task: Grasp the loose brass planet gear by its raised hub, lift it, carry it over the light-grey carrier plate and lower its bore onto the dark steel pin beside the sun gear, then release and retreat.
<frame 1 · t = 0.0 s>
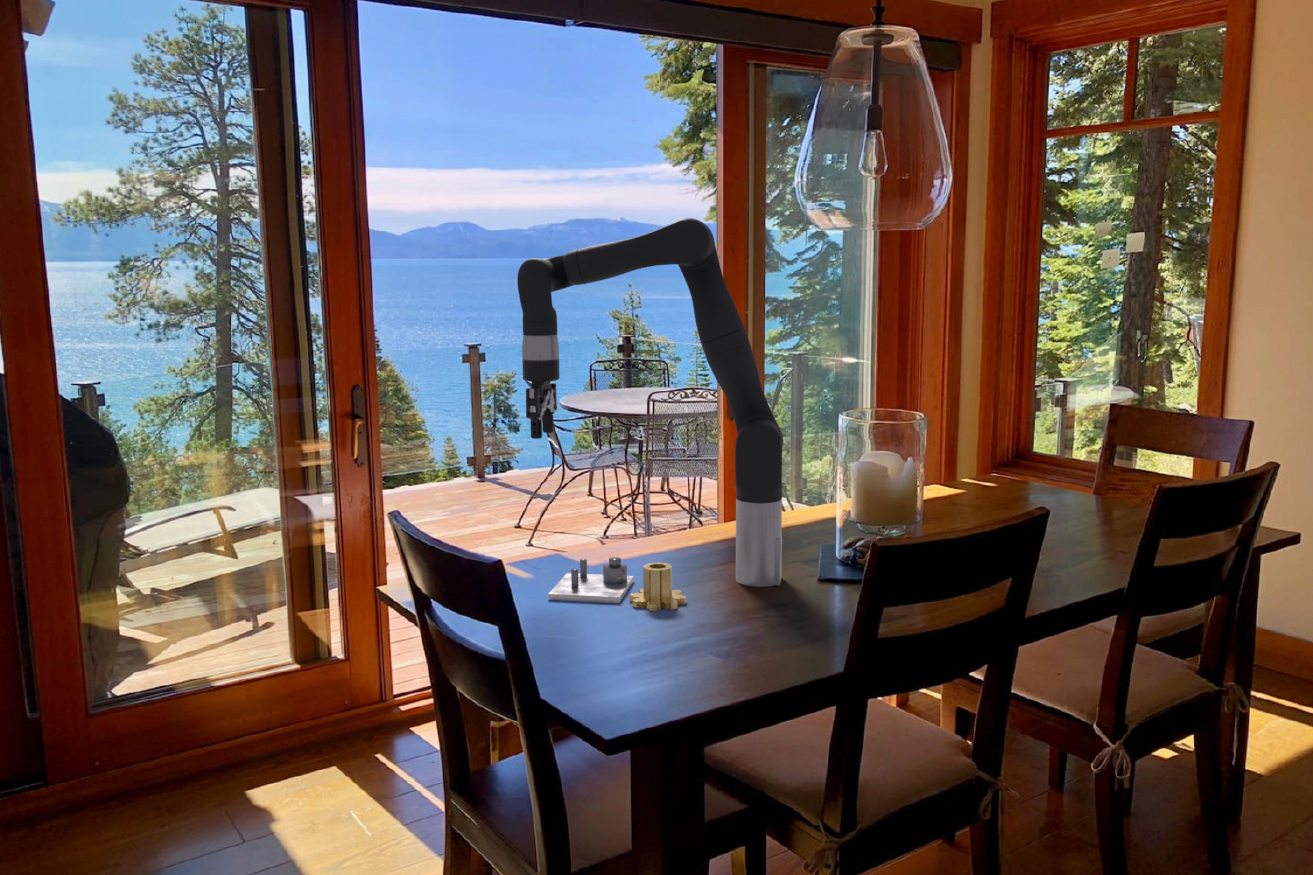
hand: (542, 435, 201), 29 cm above the table, fingers open, 8 cm apart
planet gear: (657, 601, 184), on the table
carrier: (592, 590, 192), on the table
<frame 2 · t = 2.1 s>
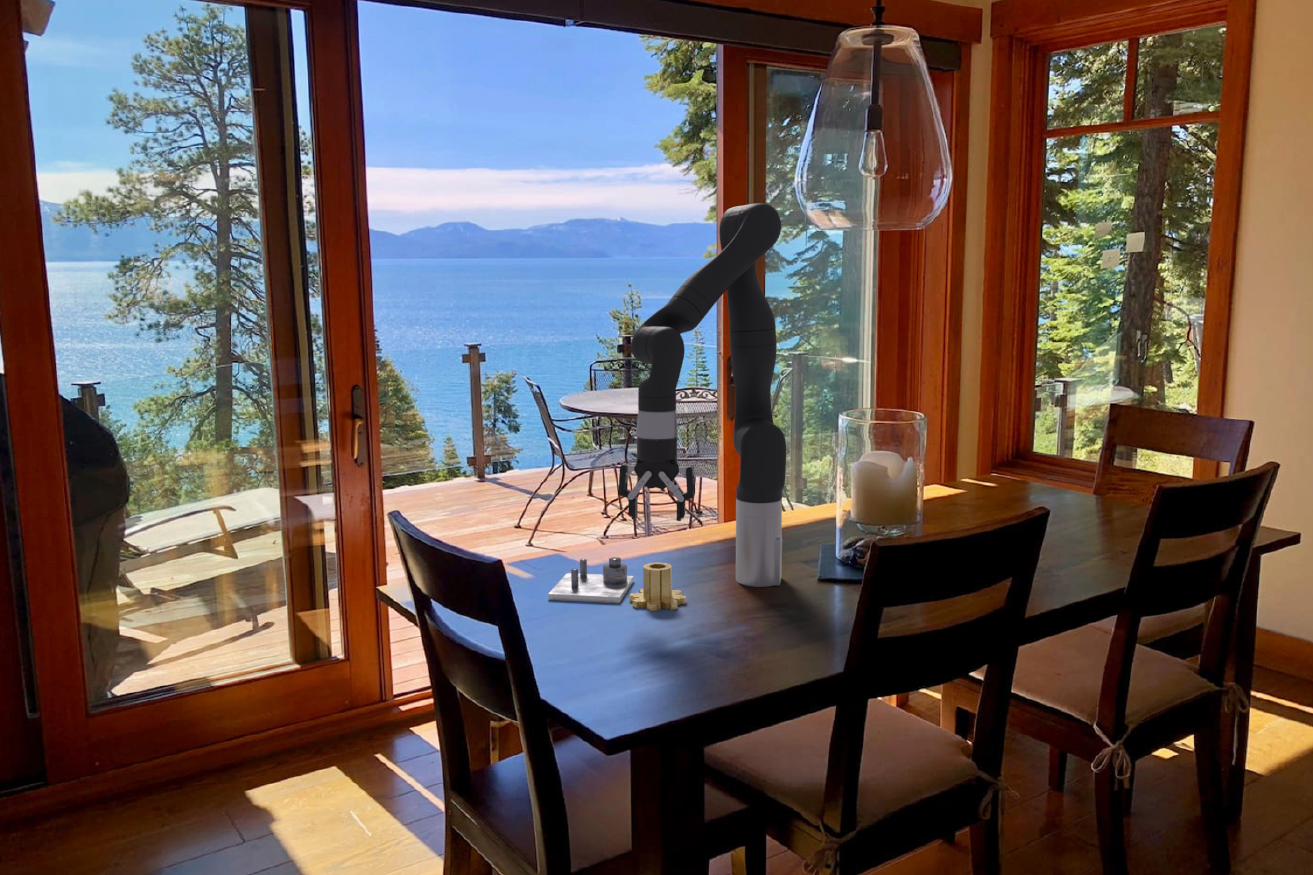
hand: (656, 519, 182), 16 cm above the table, fingers open, 8 cm apart
nothing on the table moved.
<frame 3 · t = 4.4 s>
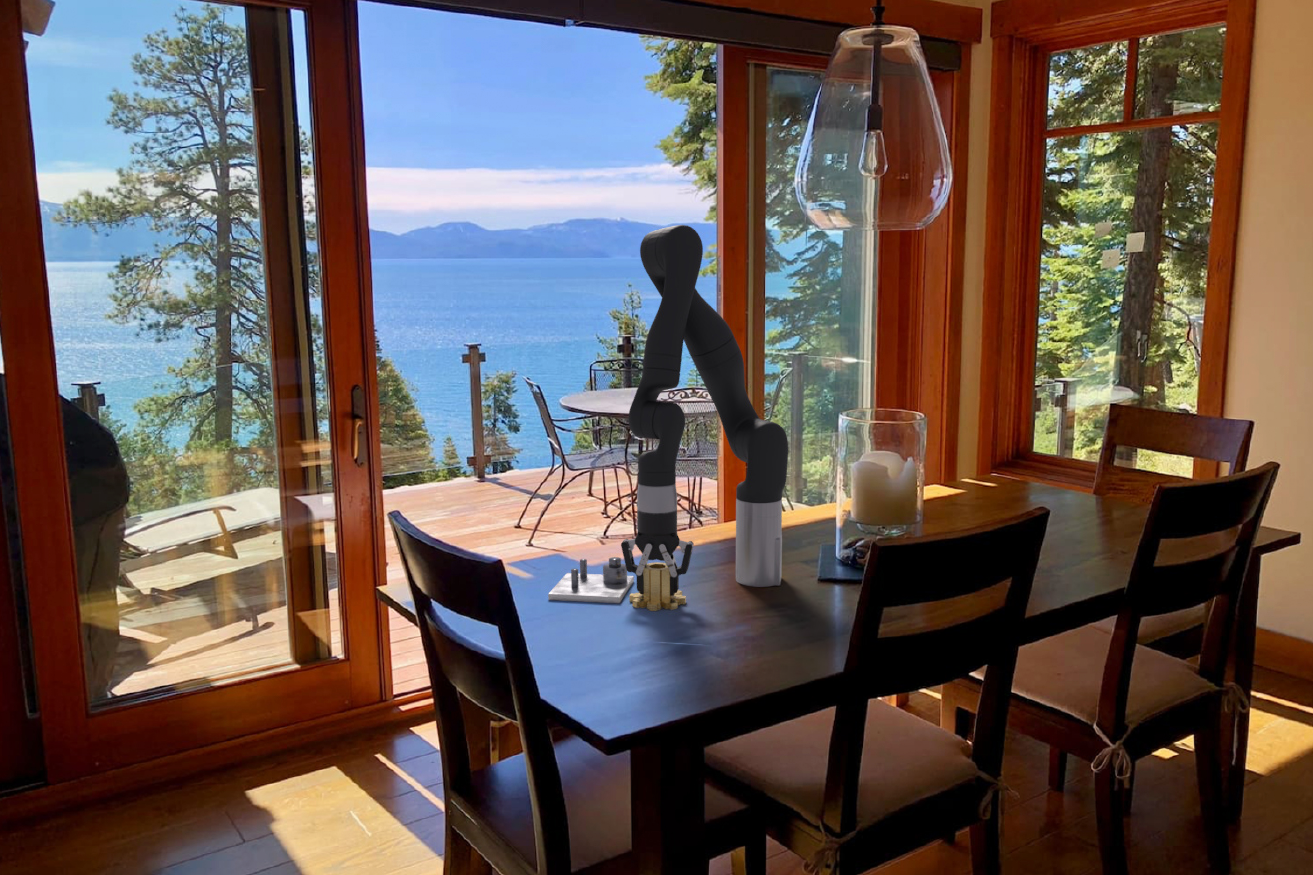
hand: (657, 593, 184), 2 cm above the table, fingers closed on planet gear, 5 cm apart
planet gear: (657, 601, 184), on the table, touching gripper
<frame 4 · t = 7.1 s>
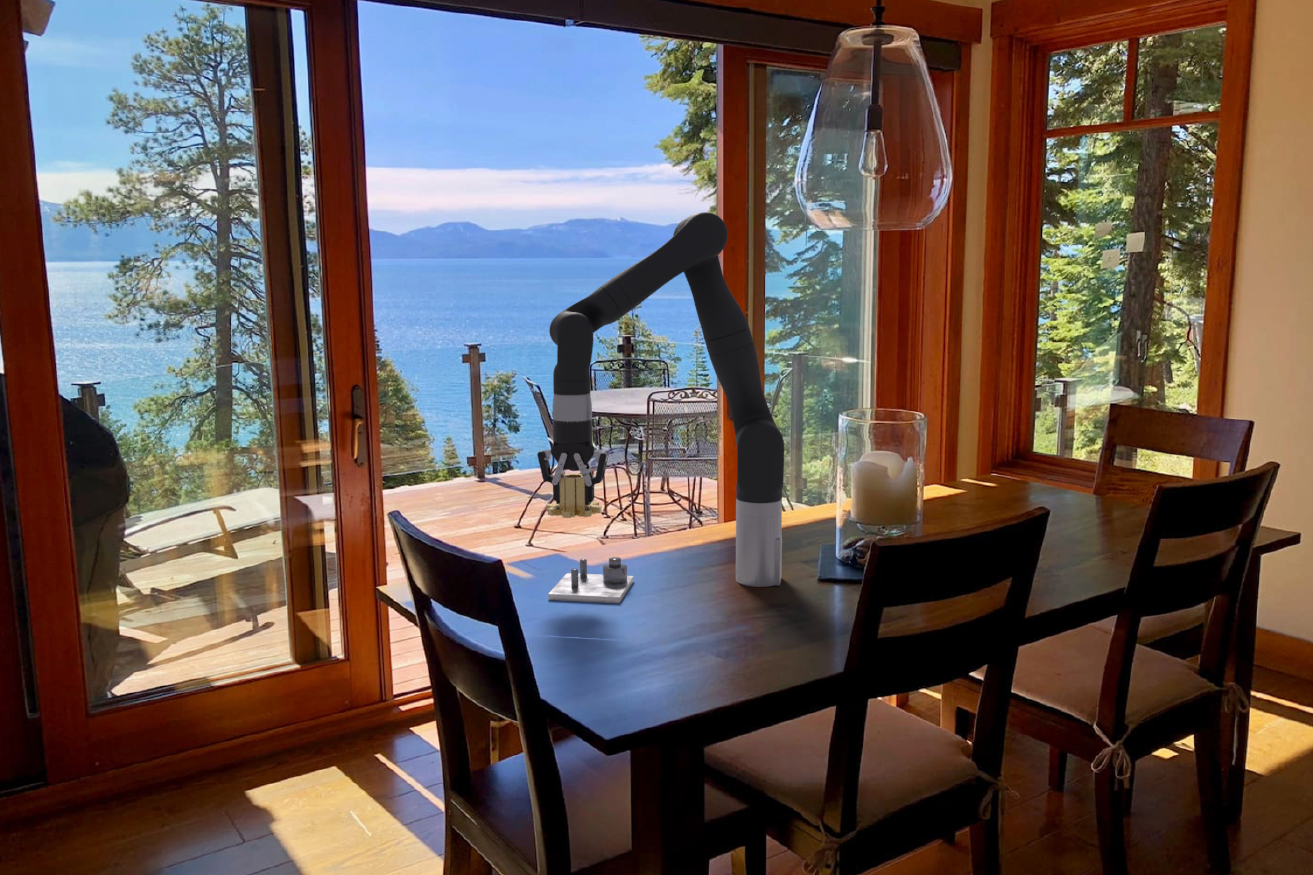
hand: (573, 503, 188), 18 cm above the table, fingers closed on planet gear, 5 cm apart
planet gear: (573, 511, 188), point 16 cm above the table, touching gripper
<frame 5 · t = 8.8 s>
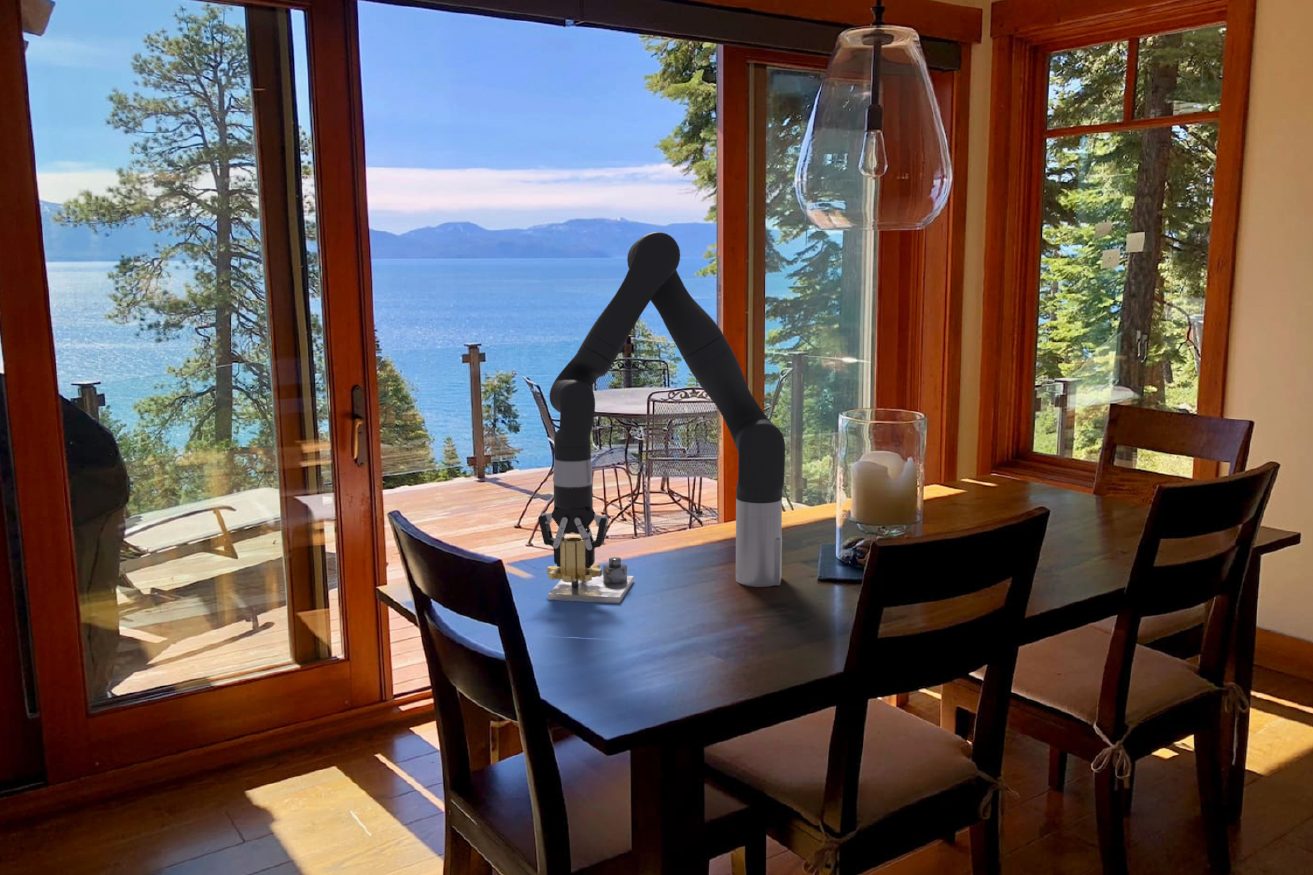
hand: (574, 566, 190), 5 cm above the table, fingers closed on planet gear, 5 cm apart
planet gear: (574, 574, 190), point 4 cm above the table, touching gripper
when the fingers open (4 cm above the table, at t = 10.0 s): planet gear stays where it is, resting on carrier.
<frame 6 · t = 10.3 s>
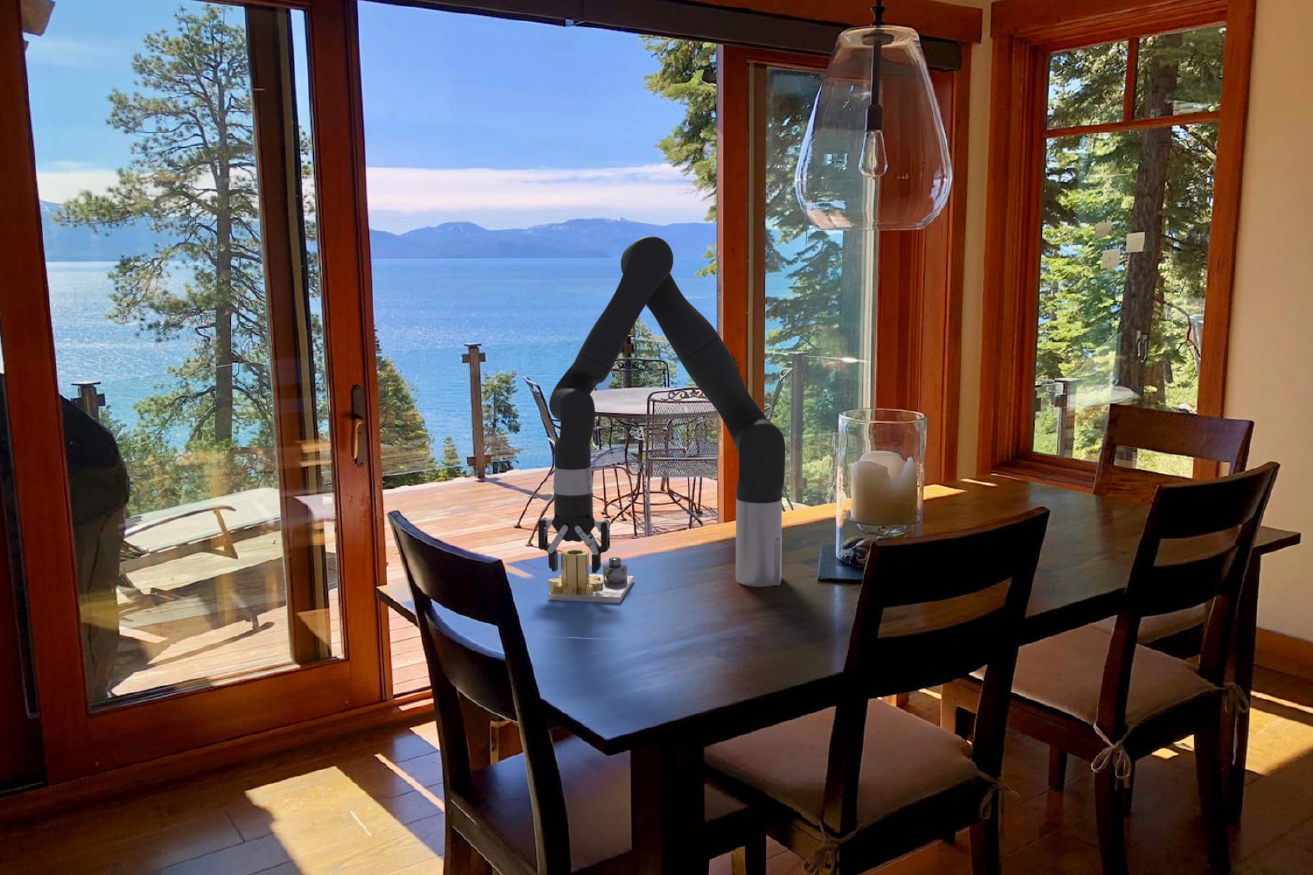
hand: (574, 571, 190), 4 cm above the table, fingers open, 7 cm apart
planet gear: (575, 586, 190), point 1 cm above the table, touching carrier
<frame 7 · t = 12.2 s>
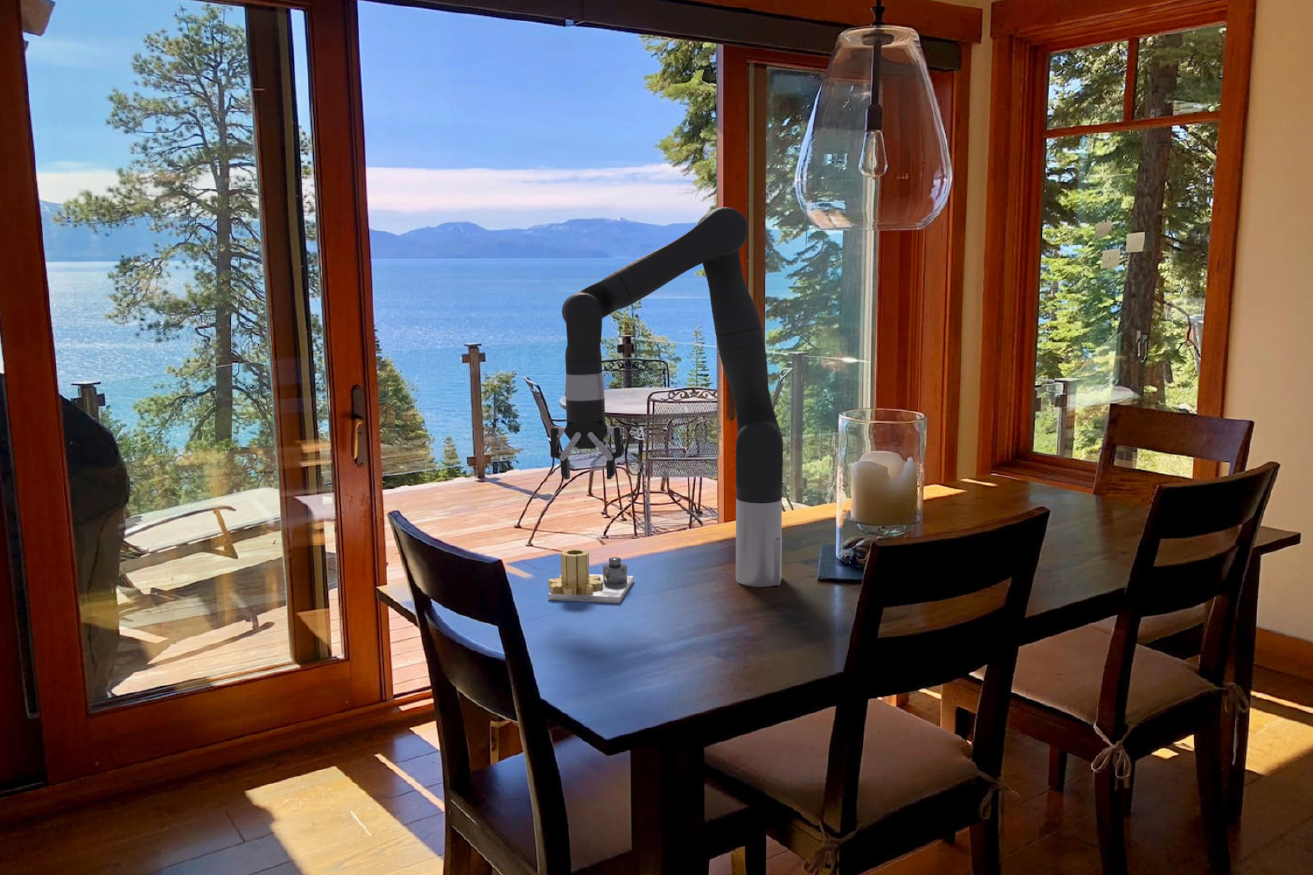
hand: (588, 478, 190), 22 cm above the table, fingers open, 8 cm apart
nothing on the table moved.
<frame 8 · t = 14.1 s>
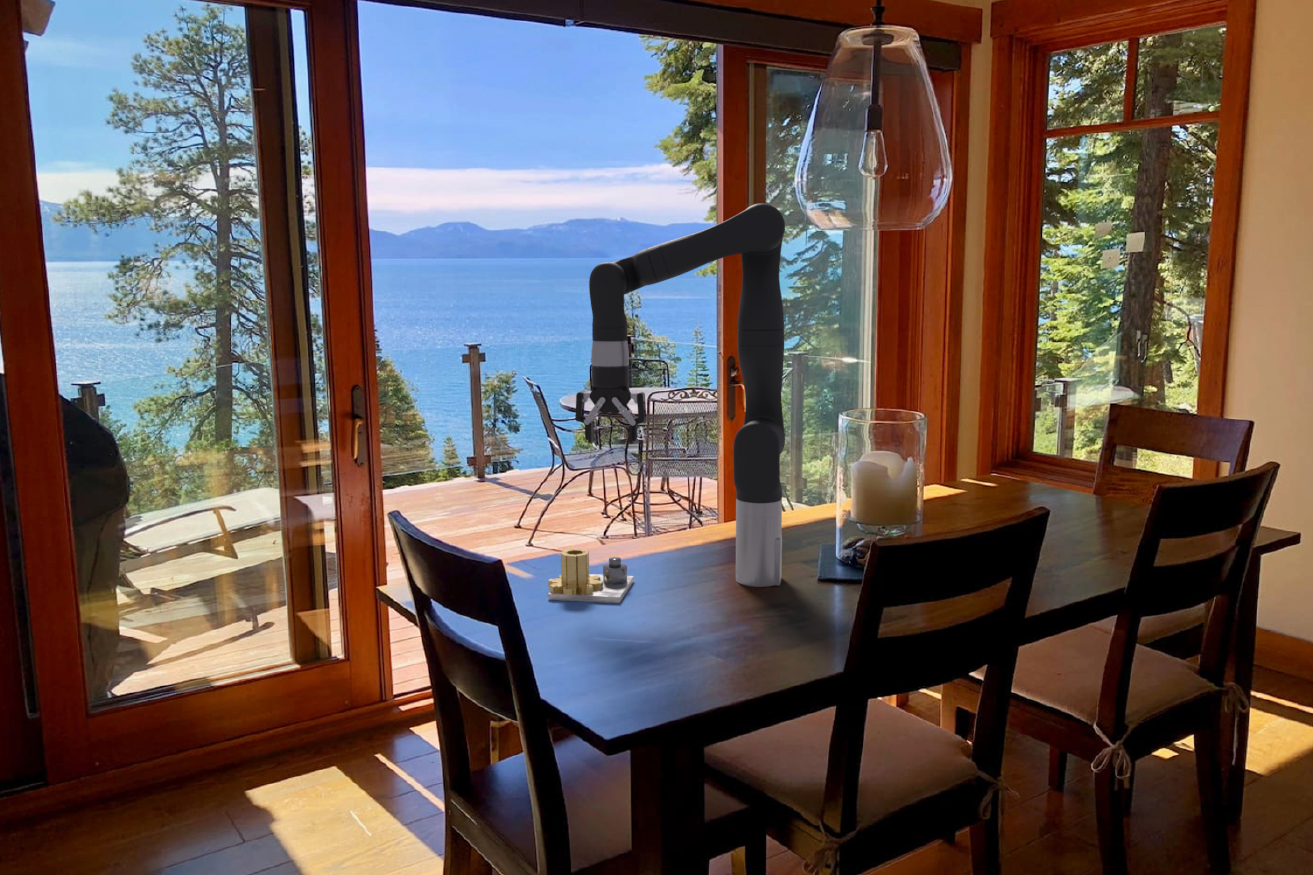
hand: (611, 442, 197), 28 cm above the table, fingers open, 8 cm apart
nothing on the table moved.
at the end: planet gear 0.1 cm from the target spot on the carrier, point 1.2 cm above the carrier's base; planet gear tilted 0°; the gripper is holding nothing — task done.
